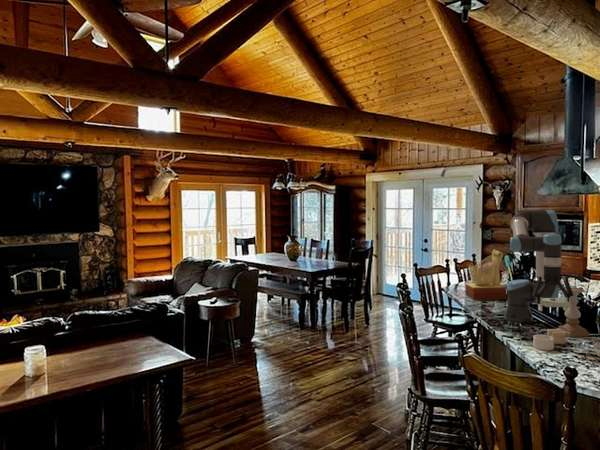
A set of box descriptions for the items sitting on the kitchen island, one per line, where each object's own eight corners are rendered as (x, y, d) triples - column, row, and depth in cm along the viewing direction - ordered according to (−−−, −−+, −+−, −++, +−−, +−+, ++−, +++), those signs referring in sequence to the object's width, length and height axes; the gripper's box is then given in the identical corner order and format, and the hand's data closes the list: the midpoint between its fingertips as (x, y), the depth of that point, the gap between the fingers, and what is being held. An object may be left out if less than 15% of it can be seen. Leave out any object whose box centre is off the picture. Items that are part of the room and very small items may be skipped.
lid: (536, 302, 224) (536, 296, 224) (558, 301, 223) (558, 296, 223) (546, 306, 213) (546, 301, 213) (570, 306, 212) (570, 300, 212)
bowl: (530, 344, 218) (530, 334, 218) (548, 344, 217) (548, 334, 217) (538, 350, 210) (538, 339, 210) (556, 350, 209) (556, 339, 209)
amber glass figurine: (498, 294, 335) (498, 248, 333) (509, 299, 317) (509, 250, 315) (465, 295, 335) (464, 249, 334) (474, 300, 317) (473, 251, 316)
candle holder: (555, 331, 238) (555, 287, 237) (575, 330, 239) (575, 286, 238) (570, 337, 227) (569, 291, 226) (590, 336, 228) (590, 290, 227)
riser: (547, 339, 225) (547, 329, 225) (559, 339, 224) (559, 329, 224) (552, 343, 219) (552, 332, 219) (565, 343, 218) (565, 332, 218)
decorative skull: (483, 290, 352) (482, 264, 351) (475, 283, 378) (475, 260, 377) (506, 290, 349) (506, 264, 349) (497, 283, 375) (497, 260, 374)
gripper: (530, 267, 214) (531, 312, 215) (581, 266, 212) (581, 311, 213) (524, 265, 222) (524, 308, 223) (573, 264, 220) (573, 308, 221)
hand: (552, 310), depth 218 cm, fingers closed on lid, 11 cm apart
